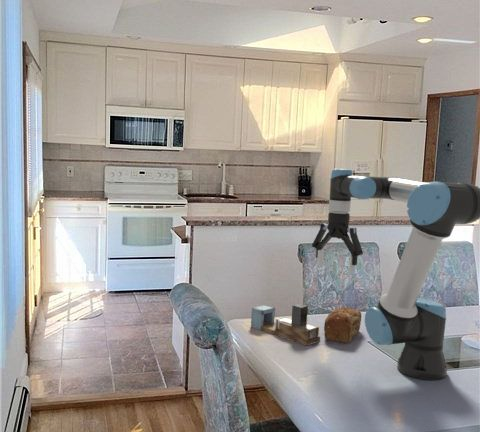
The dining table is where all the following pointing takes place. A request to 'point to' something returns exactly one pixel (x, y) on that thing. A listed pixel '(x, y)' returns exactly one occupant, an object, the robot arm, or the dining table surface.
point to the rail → (291, 332)
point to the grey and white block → (298, 319)
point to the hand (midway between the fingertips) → (335, 270)
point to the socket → (262, 315)
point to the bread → (342, 325)
